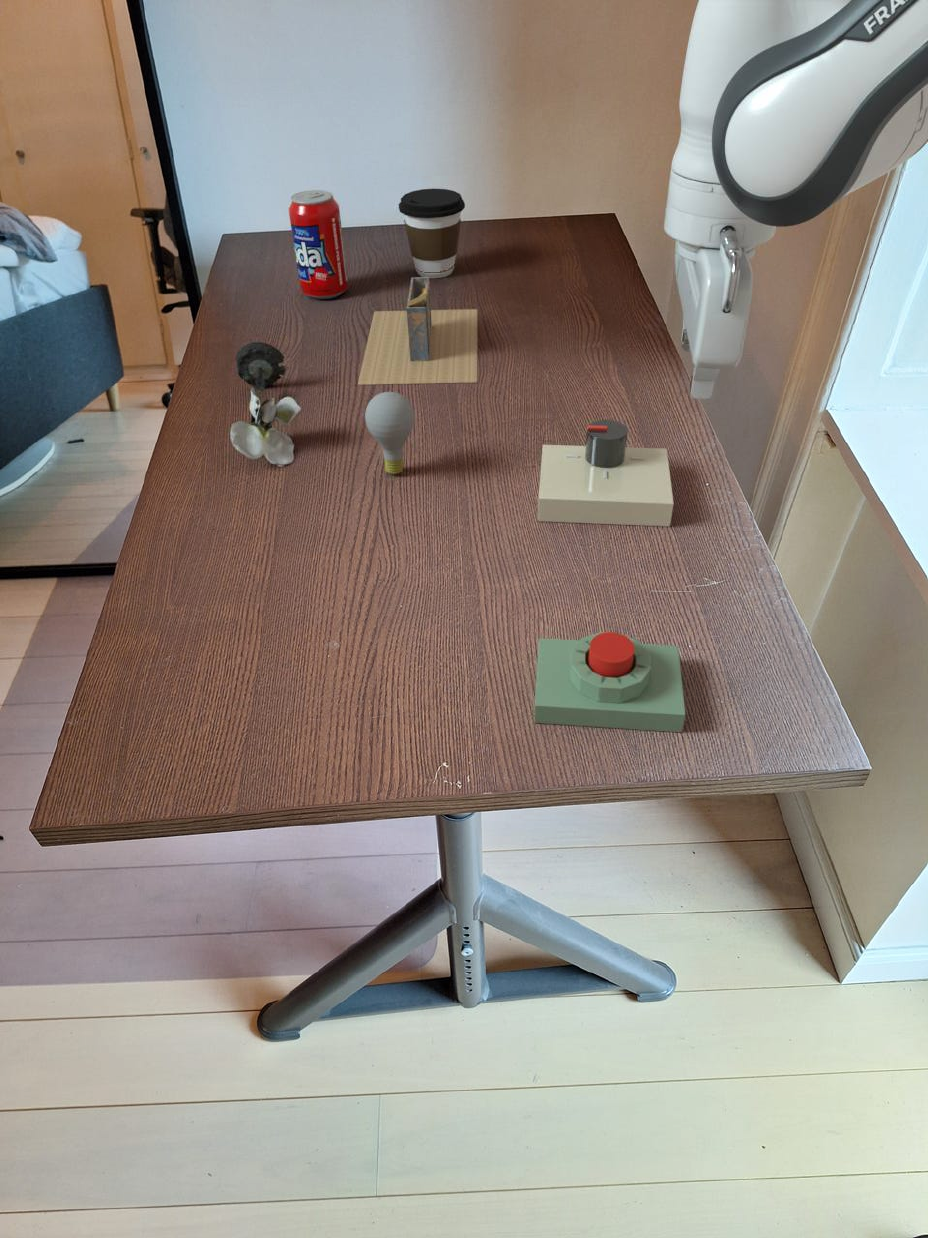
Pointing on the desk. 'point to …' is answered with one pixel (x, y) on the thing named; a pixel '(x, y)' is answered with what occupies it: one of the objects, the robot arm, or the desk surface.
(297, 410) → the artificial flower
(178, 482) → the desk surface
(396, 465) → the light bulb
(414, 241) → the coffee cup
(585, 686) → the box
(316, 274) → the soda can
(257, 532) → the desk surface
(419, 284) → the ruin model on sheet
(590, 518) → the stove panel
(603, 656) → the button
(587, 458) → the burner knob
